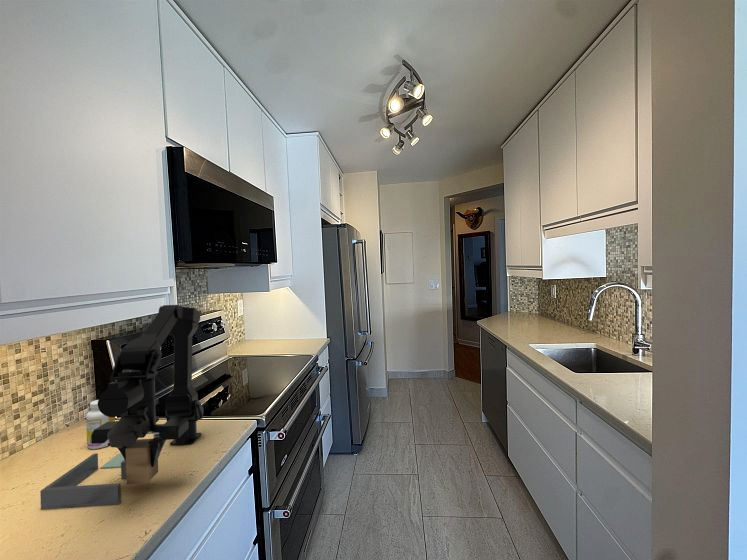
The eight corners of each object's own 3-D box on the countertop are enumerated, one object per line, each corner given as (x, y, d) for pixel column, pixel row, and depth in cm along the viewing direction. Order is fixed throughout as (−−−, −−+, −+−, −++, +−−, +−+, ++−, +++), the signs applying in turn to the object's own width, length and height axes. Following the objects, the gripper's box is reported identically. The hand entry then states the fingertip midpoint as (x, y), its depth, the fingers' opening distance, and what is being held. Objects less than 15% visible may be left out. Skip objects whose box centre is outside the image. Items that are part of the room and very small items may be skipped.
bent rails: (94, 469, 89) (93, 453, 89) (157, 465, 90) (156, 450, 90) (40, 509, 73) (40, 490, 73) (118, 504, 74) (117, 485, 74)
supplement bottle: (112, 437, 107) (111, 395, 107) (118, 443, 103) (117, 400, 102) (84, 445, 102) (83, 402, 101) (90, 452, 97) (88, 407, 97)
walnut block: (138, 473, 82) (137, 439, 82) (158, 471, 82) (157, 438, 82) (126, 484, 78) (125, 448, 78) (147, 483, 78) (146, 447, 78)
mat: (118, 454, 96) (118, 453, 96) (148, 453, 96) (148, 452, 96) (100, 468, 89) (100, 467, 89) (133, 466, 89) (133, 465, 89)
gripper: (69, 415, 71) (72, 491, 71) (164, 411, 73) (166, 485, 73) (107, 397, 82) (108, 462, 82) (188, 393, 84) (190, 457, 84)
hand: (142, 466), depth 80 cm, fingers closed on walnut block, 4 cm apart
